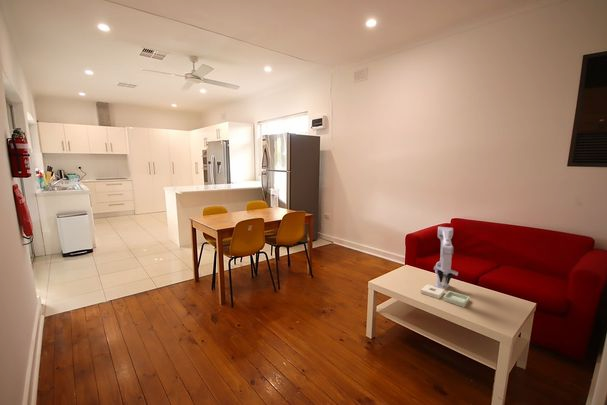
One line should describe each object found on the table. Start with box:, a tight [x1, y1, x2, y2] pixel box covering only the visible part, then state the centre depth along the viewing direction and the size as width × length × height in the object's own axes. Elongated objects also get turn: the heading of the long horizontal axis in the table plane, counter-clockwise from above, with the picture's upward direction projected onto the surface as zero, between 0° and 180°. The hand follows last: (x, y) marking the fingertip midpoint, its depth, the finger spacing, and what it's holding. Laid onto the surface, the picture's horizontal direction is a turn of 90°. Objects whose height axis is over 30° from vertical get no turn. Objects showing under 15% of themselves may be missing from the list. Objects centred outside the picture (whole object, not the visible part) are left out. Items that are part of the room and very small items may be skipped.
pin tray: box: [442, 290, 471, 308], centre depth 181 cm, size 13×13×2 cm
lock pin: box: [441, 274, 447, 289], centre depth 185 cm, size 4×4×9 cm
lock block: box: [420, 284, 446, 300], centre depth 191 cm, size 12×12×2 cm
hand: (444, 282), depth 185 cm, fingers closed on lock pin, 4 cm apart
